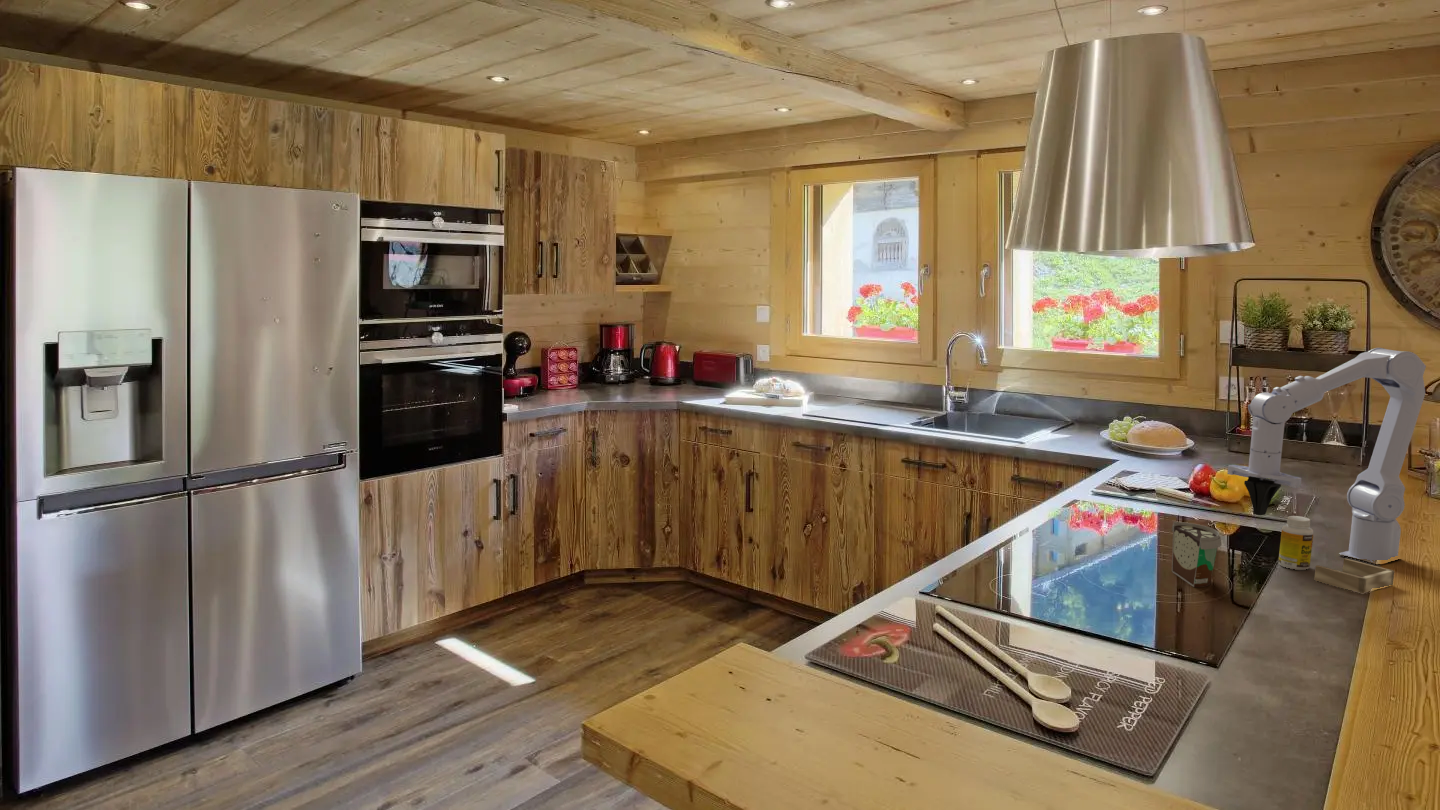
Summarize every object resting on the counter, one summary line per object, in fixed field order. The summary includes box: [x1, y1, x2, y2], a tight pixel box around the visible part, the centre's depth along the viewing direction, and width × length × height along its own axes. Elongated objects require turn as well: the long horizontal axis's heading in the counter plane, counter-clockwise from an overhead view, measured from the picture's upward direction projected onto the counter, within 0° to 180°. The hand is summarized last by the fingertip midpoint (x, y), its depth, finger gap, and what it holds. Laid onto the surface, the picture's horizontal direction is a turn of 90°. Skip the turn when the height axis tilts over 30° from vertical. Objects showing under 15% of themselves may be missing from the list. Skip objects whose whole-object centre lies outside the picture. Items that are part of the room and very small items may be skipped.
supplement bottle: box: [1278, 515, 1314, 571], centre depth 193 cm, size 6×6×10 cm
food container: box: [1171, 521, 1222, 588], centre depth 184 cm, size 12×6×10 cm, turn 179°
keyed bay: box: [1313, 557, 1395, 593], centre depth 183 cm, size 11×9×3 cm
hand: (1259, 514), depth 199 cm, fingers closed
